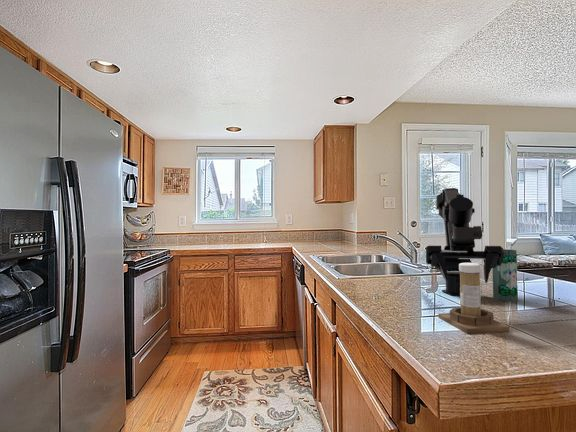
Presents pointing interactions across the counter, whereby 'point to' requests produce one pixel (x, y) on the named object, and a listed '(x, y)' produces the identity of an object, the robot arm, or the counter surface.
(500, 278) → the can
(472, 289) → the sprinkles bottle
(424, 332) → the counter surface
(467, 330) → the holder
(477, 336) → the counter surface
